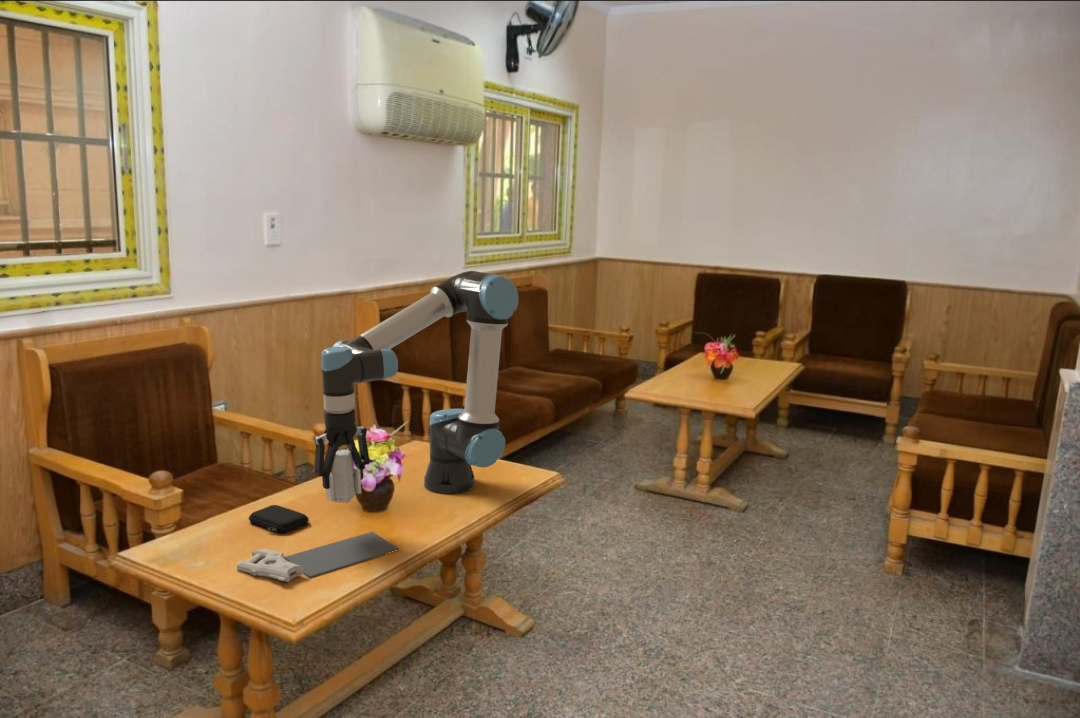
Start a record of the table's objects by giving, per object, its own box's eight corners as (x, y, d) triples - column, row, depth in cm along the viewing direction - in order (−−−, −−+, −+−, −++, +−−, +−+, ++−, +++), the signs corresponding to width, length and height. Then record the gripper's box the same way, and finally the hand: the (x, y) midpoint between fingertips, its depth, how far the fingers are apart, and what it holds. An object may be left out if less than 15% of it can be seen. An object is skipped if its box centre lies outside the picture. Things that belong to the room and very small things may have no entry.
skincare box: (349, 503, 211) (347, 457, 208) (331, 502, 211) (329, 456, 208) (356, 493, 217) (354, 449, 214) (339, 493, 217) (336, 448, 214)
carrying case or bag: (242, 524, 220) (280, 538, 212) (241, 514, 219) (279, 527, 212) (274, 512, 229) (312, 524, 221) (274, 501, 228) (311, 514, 221)
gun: (316, 556, 194) (284, 574, 186) (317, 570, 195) (285, 588, 186) (259, 543, 203) (226, 559, 194) (260, 556, 203) (228, 573, 195)
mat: (372, 532, 216) (372, 531, 216) (399, 549, 207) (399, 548, 207) (284, 558, 200) (284, 556, 200) (309, 578, 191) (309, 576, 191)
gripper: (367, 399, 218) (370, 482, 223) (295, 413, 205) (301, 501, 210) (382, 405, 212) (385, 490, 217) (309, 420, 199) (315, 510, 205)
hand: (344, 495), depth 214 cm, fingers closed on skincare box, 7 cm apart
